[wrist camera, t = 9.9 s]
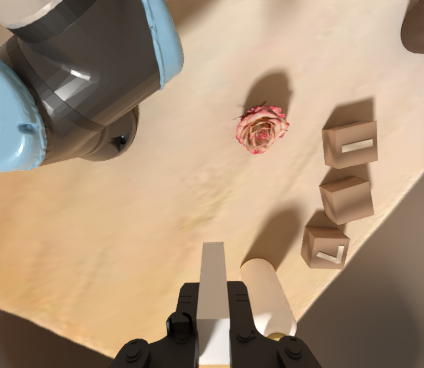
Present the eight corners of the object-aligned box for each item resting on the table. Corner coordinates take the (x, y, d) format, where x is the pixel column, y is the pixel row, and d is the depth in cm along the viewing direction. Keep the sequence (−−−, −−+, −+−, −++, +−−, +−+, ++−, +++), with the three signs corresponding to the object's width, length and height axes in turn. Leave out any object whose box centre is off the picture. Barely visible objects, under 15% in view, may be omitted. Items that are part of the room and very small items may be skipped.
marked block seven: (304, 226, 48) (315, 238, 43) (336, 227, 48) (350, 239, 43) (300, 254, 49) (310, 268, 44) (330, 255, 49) (343, 269, 44)
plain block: (318, 185, 45) (331, 192, 40) (352, 175, 45) (368, 181, 40) (325, 215, 47) (337, 225, 42) (357, 205, 46) (374, 214, 41)
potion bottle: (271, 287, 52) (300, 369, 34) (237, 285, 52) (248, 366, 34) (276, 257, 49) (309, 328, 32) (240, 255, 49) (254, 325, 32)
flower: (225, 102, 39) (229, 129, 34) (275, 81, 37) (287, 107, 32) (241, 139, 46) (246, 166, 41) (284, 124, 44) (295, 151, 39)
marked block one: (321, 130, 42) (335, 130, 37) (357, 121, 42) (377, 121, 37) (324, 164, 44) (338, 169, 39) (359, 156, 44) (378, 160, 39)
